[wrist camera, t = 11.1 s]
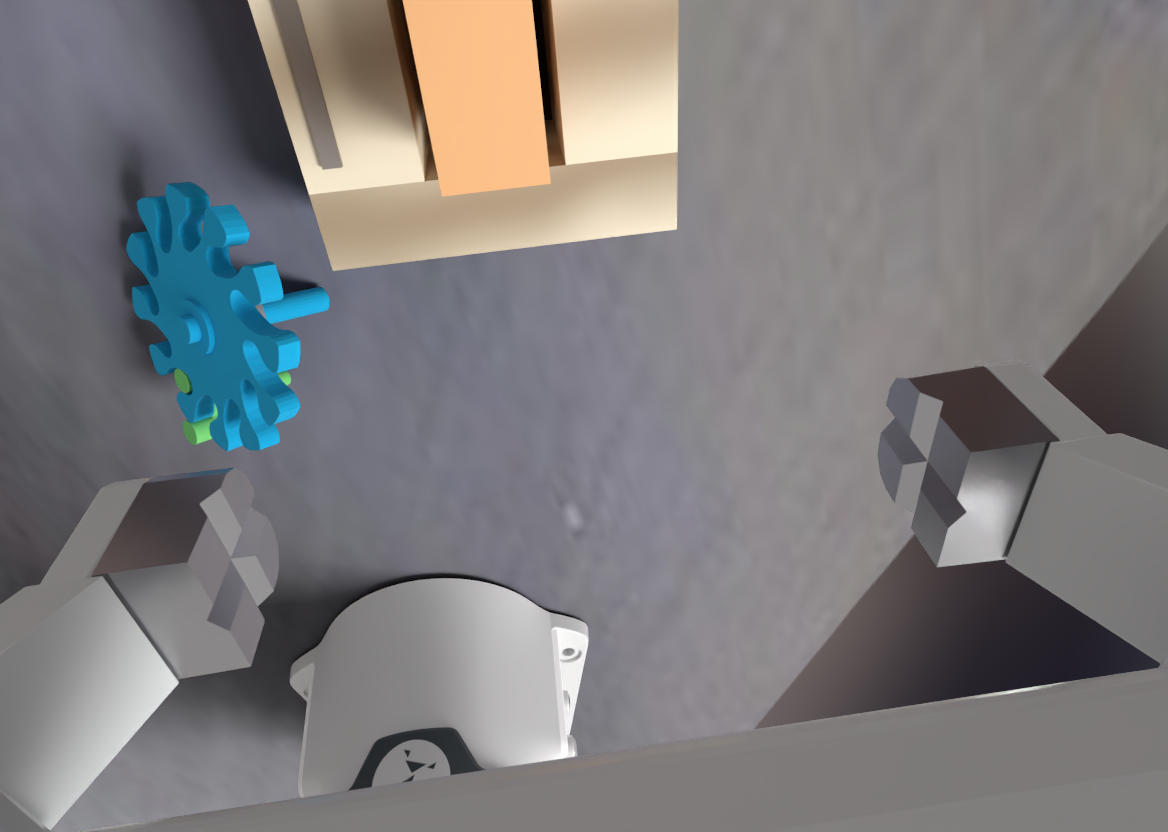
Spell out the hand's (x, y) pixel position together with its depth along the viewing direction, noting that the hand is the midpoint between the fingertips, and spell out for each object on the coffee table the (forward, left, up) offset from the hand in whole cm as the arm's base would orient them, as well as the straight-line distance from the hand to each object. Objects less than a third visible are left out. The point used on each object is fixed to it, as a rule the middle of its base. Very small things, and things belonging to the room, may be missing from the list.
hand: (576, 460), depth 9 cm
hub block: (+1, +1, -22) cm, 22 cm away
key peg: (+1, +1, -22) cm, 22 cm away
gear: (-7, +12, -22) cm, 26 cm away
